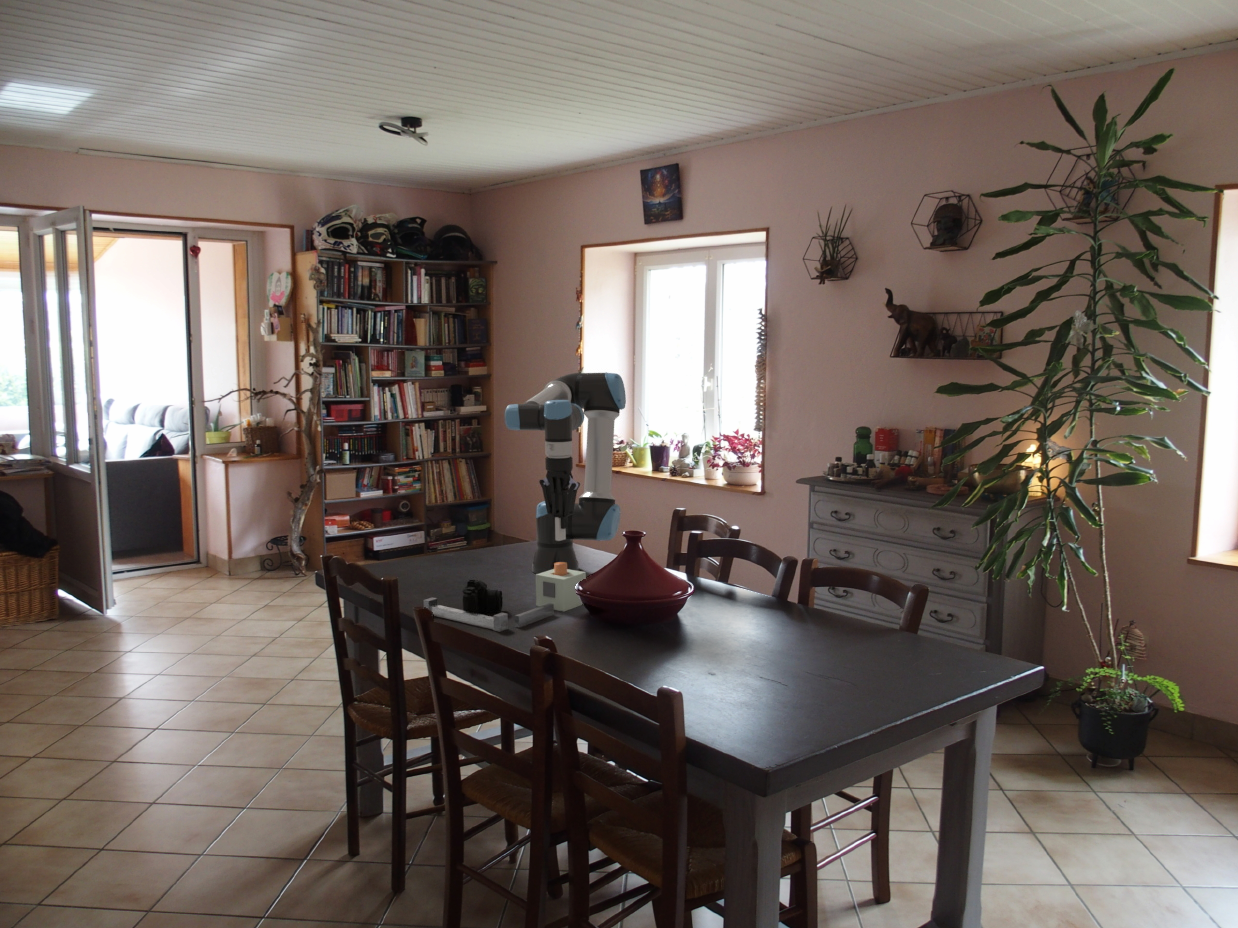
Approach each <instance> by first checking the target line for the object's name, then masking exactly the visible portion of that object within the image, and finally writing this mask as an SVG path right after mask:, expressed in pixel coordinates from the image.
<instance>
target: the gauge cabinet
mask: <svg viewBox="0 0 1238 928" xmlns="http://www.w3.org/2000/svg"><path fill="white" fill-rule="evenodd" d="M583 579H586V580H587V572H586V571H580V570H578V571H576V570H570V569H567V575H564V576H559V575H554V569H552V570H549V571H546V572H542V573H539V574H536V573H535V606H536V607H540V606H543V605H546V604H549V603H551V604H554V611H559V612H566V611H570V610H572V609H575V608H576V607H580V606H582V603H581V600H580V599H579V597H578V595H577V594H576V591H575V586H576V584H577V583H578V582H580V581H582V580H583Z"/></svg>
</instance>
